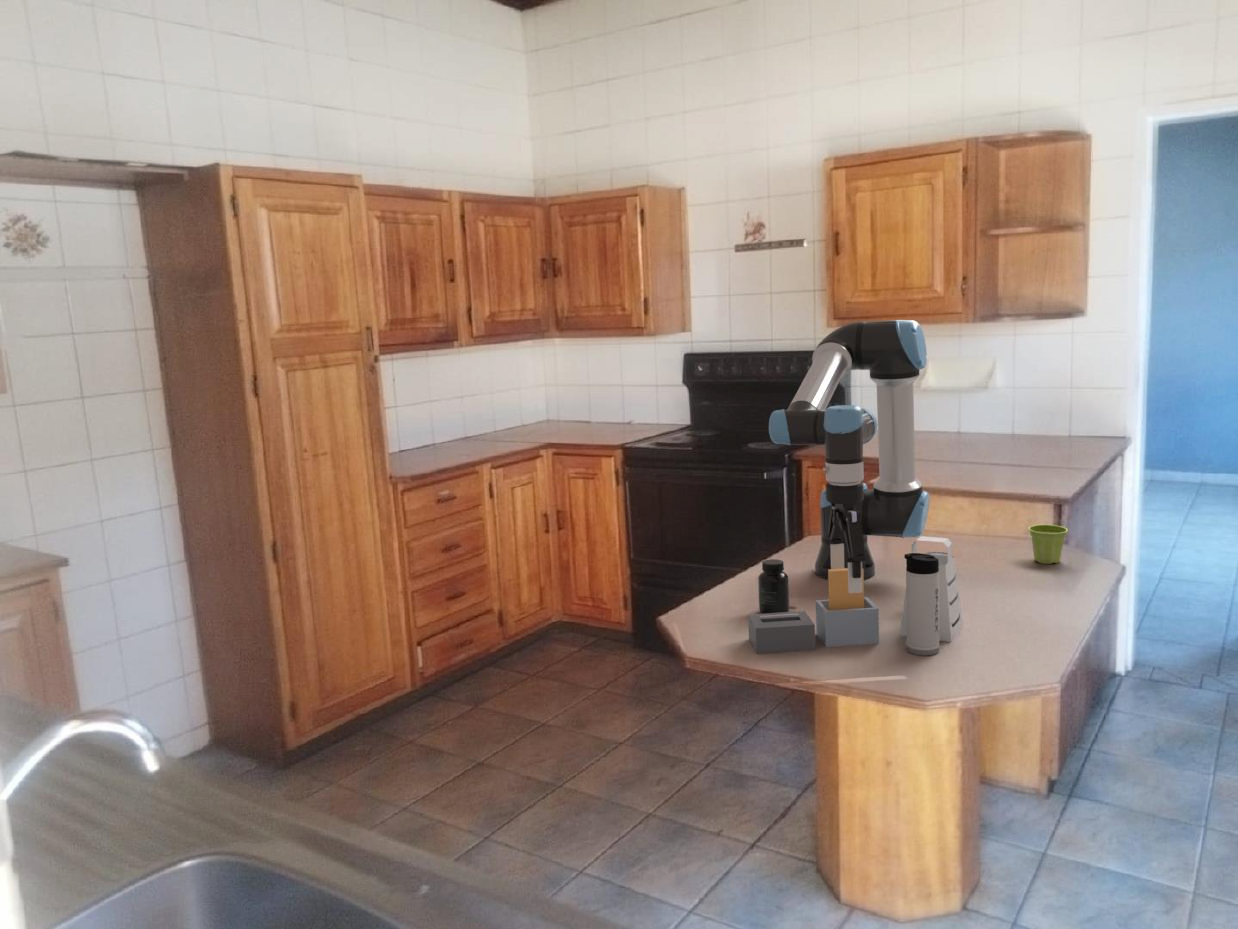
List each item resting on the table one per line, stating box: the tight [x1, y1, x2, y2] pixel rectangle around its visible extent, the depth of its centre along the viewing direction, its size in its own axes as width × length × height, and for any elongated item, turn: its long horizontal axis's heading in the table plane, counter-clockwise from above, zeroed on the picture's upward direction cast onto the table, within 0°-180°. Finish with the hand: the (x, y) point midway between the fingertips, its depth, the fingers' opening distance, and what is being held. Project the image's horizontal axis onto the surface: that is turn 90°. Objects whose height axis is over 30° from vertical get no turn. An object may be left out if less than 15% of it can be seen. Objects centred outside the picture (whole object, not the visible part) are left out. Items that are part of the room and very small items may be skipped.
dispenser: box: [747, 610, 816, 655], centre depth 201 cm, size 12×9×6 cm
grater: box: [899, 535, 964, 643], centre depth 205 cm, size 10×10×20 cm
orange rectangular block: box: [827, 568, 865, 610], centre depth 202 cm, size 7×2×15 cm, turn 92°
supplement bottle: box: [757, 558, 790, 614], centre depth 224 cm, size 7×7×12 cm
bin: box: [815, 596, 880, 648], centre depth 203 cm, size 8×11×8 cm
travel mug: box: [904, 552, 940, 656], centre depth 194 cm, size 6×7×20 cm
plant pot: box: [1027, 524, 1069, 565], centre depth 253 cm, size 9×9×9 cm
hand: (846, 583), depth 201 cm, fingers open, 13 cm apart
